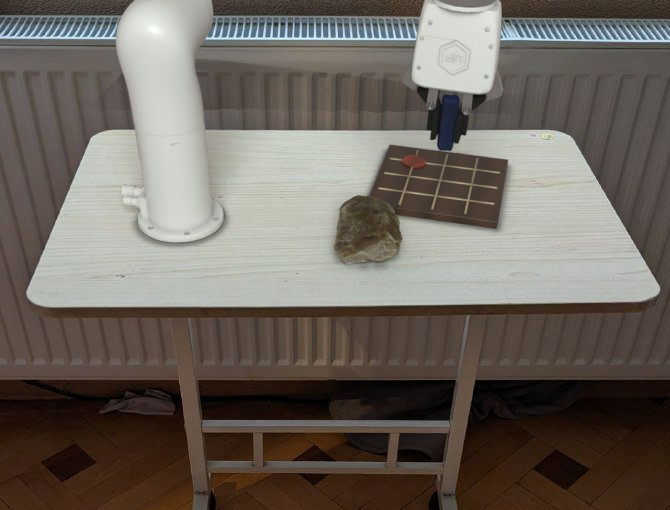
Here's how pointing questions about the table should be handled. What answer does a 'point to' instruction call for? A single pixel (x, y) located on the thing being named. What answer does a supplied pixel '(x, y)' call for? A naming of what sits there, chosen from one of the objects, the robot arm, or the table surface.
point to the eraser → (447, 122)
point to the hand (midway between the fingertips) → (445, 136)
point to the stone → (367, 231)
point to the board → (442, 185)
